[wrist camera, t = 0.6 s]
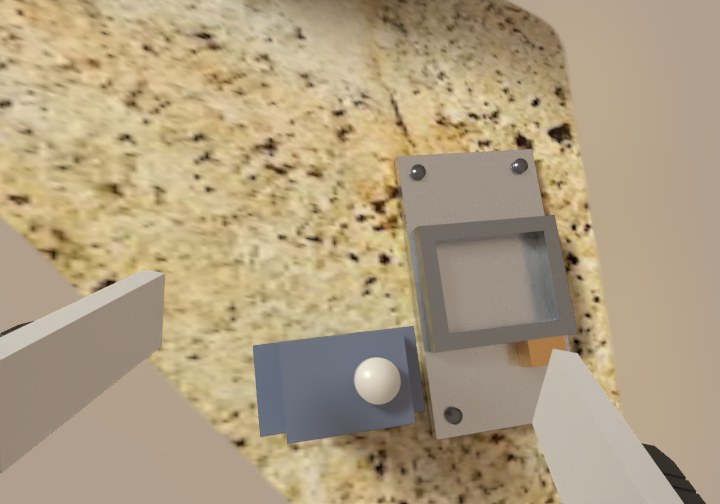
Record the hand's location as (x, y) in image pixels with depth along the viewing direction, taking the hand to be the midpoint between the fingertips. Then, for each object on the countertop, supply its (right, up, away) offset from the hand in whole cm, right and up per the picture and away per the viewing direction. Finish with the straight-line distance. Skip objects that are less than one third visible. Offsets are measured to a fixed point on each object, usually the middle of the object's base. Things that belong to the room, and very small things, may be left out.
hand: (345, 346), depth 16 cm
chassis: (+11, +1, +23) cm, 25 cm away
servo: (-2, -6, +20) cm, 20 cm away
